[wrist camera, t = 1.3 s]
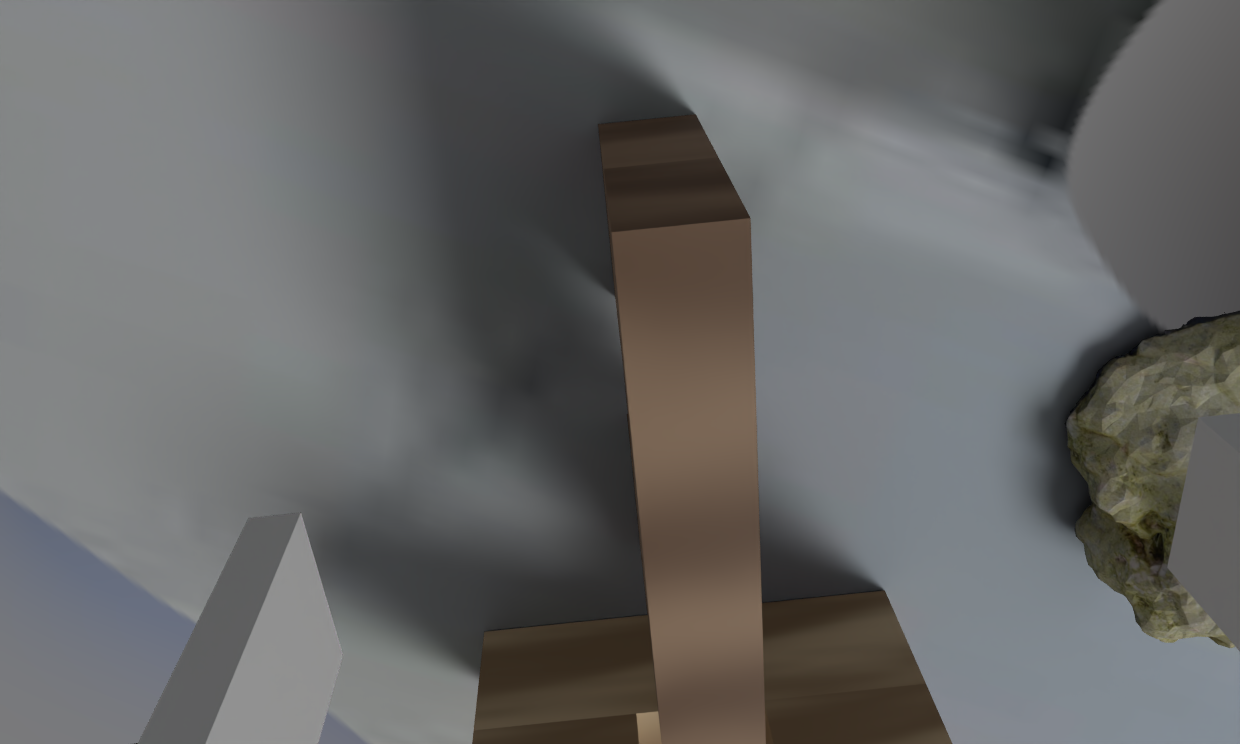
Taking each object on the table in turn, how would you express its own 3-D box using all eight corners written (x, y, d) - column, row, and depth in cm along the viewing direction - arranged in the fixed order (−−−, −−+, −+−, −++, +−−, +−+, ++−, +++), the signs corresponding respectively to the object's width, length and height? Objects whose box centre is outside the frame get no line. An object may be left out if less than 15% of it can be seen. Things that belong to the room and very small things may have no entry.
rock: (1240, 251, 34) (997, 407, 35) (1407, 312, 29) (1114, 498, 29) (1304, 463, 39) (1090, 598, 39) (1460, 552, 33) (1206, 709, 34)
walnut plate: (597, 124, 30) (611, 232, 21) (695, 114, 30) (750, 218, 21) (640, 544, 37) (663, 755, 28) (718, 535, 37) (765, 745, 28)
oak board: (484, 631, 39) (460, 858, 30) (884, 590, 39) (978, 804, 30) (495, 687, 40) (475, 919, 31) (882, 647, 40) (971, 868, 31)
